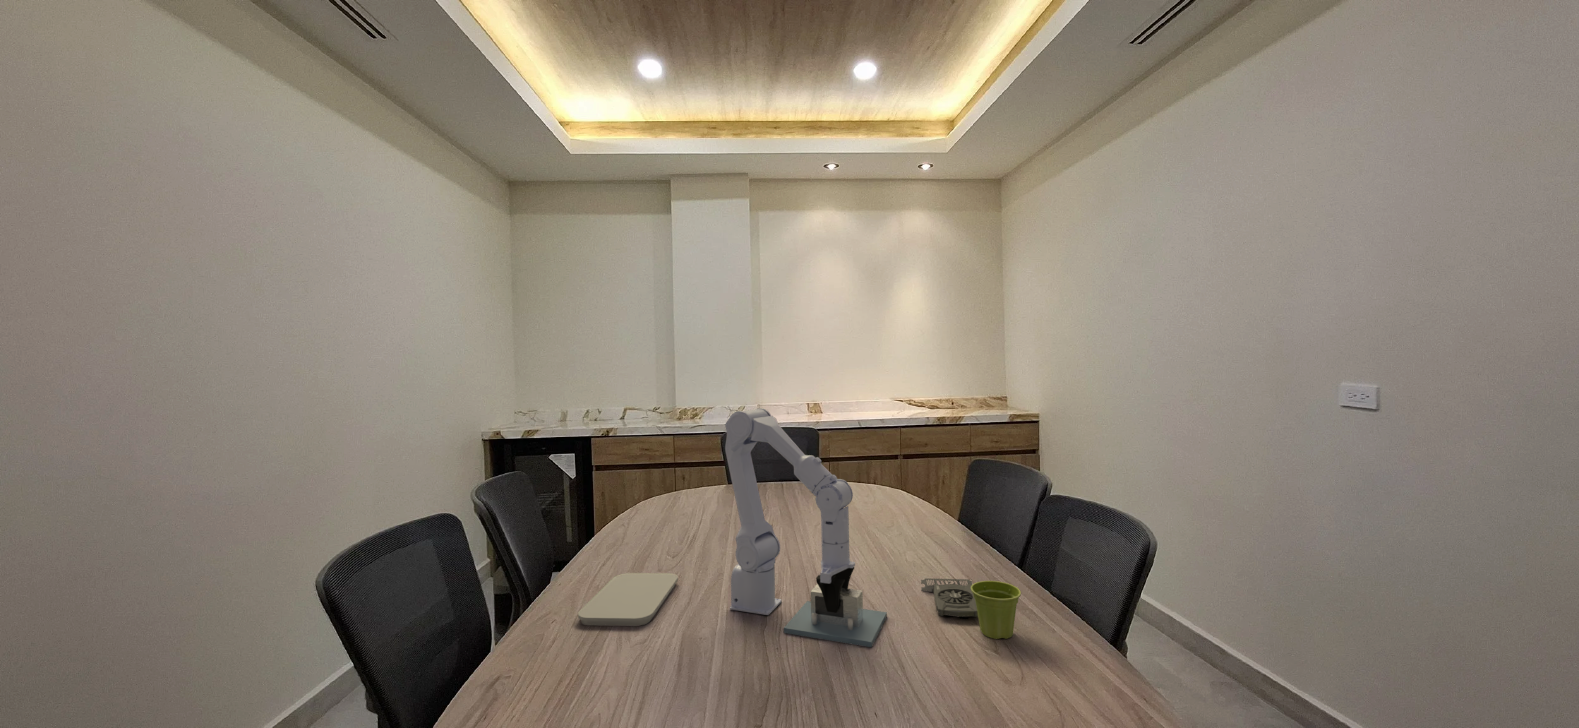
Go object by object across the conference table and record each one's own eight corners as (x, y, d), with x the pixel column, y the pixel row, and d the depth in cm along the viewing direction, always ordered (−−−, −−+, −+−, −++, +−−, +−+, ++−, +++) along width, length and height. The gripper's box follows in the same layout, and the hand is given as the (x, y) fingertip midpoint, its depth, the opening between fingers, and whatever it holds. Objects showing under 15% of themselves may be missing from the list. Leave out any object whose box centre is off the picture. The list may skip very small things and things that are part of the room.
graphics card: (920, 576, 138) (973, 577, 136) (921, 591, 138) (973, 593, 136) (924, 606, 121) (983, 608, 119) (924, 624, 121) (984, 626, 119)
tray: (783, 632, 117) (783, 617, 117) (807, 605, 130) (806, 591, 130) (871, 647, 110) (871, 631, 110) (886, 616, 123) (886, 602, 123)
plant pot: (1010, 649, 108) (1009, 602, 108) (963, 634, 115) (962, 590, 115) (1029, 631, 115) (1028, 588, 115) (983, 618, 122) (982, 577, 122)
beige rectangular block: (810, 620, 120) (810, 591, 120) (817, 612, 123) (816, 584, 123) (857, 627, 116) (857, 597, 116) (862, 619, 120) (862, 590, 120)
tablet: (572, 628, 121) (572, 617, 121) (618, 581, 147) (618, 572, 147) (648, 629, 120) (648, 618, 120) (681, 582, 146) (680, 573, 146)
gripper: (844, 552, 112) (845, 623, 112) (862, 532, 125) (863, 594, 125) (809, 549, 114) (810, 618, 114) (831, 529, 128) (832, 590, 128)
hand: (836, 605), depth 120 cm, fingers open, 5 cm apart
